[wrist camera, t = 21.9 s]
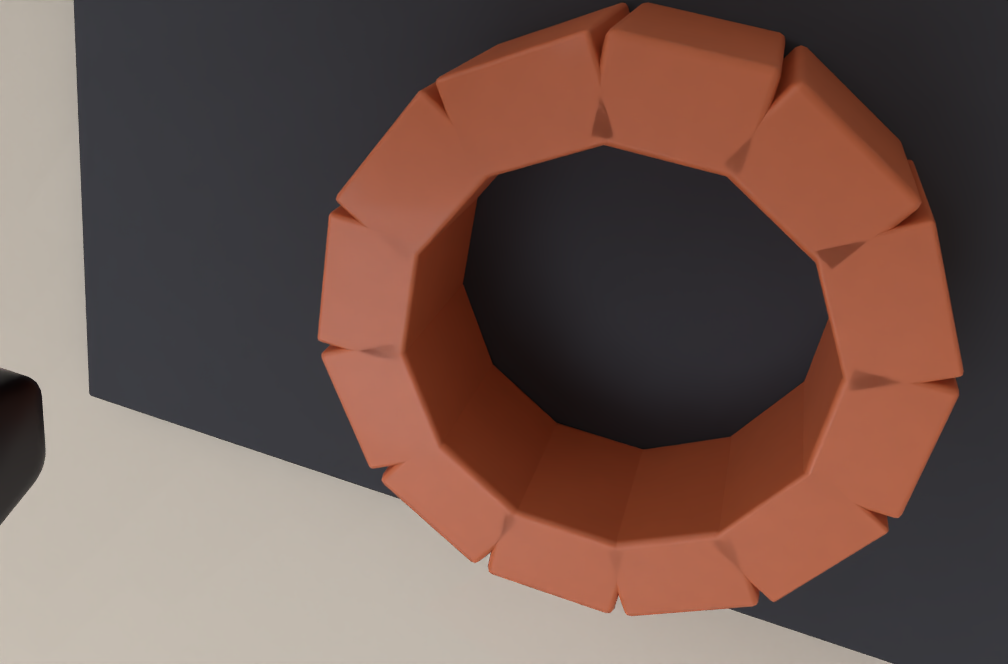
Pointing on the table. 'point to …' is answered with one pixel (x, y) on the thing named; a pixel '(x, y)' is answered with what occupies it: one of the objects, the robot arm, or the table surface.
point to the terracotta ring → (598, 460)
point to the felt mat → (543, 258)
